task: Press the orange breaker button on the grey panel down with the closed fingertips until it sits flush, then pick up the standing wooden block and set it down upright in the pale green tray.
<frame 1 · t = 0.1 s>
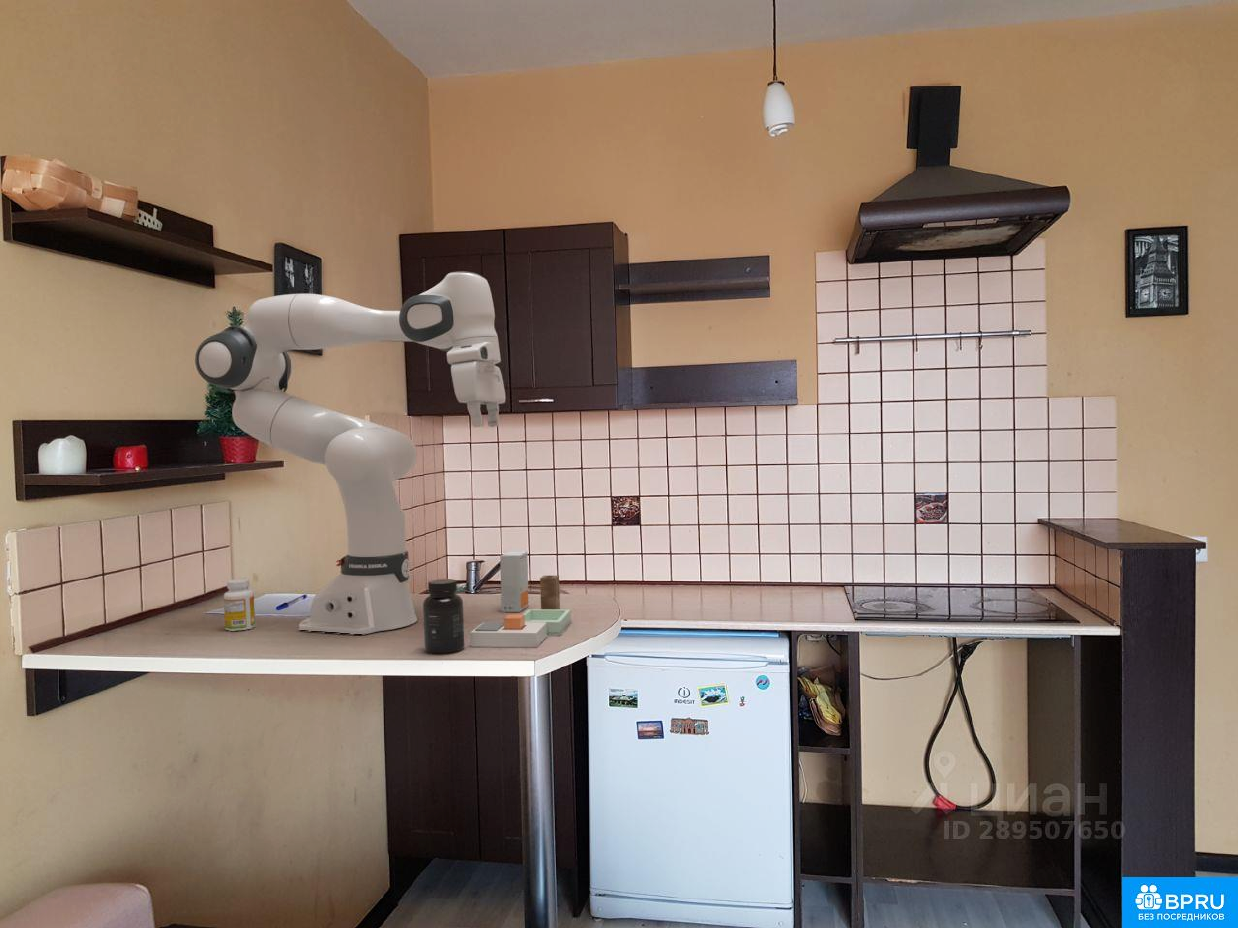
hand: (486, 426, 159), 39 cm above the countertop, tool pointing down, fingers open, 8 cm apart
wooden block: (550, 615, 168), on the countertop
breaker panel: (509, 640, 148), on the countertop
supplement bottle 2: (240, 629, 163), on the countertop
skincare box: (515, 610, 175), on the countertop
breaker button: (514, 622, 148), point 3 cm above the countertop, slide at 0.0 cm
supplement bottle: (444, 650, 144), on the countertop
bay tray: (543, 628, 157), on the countertop
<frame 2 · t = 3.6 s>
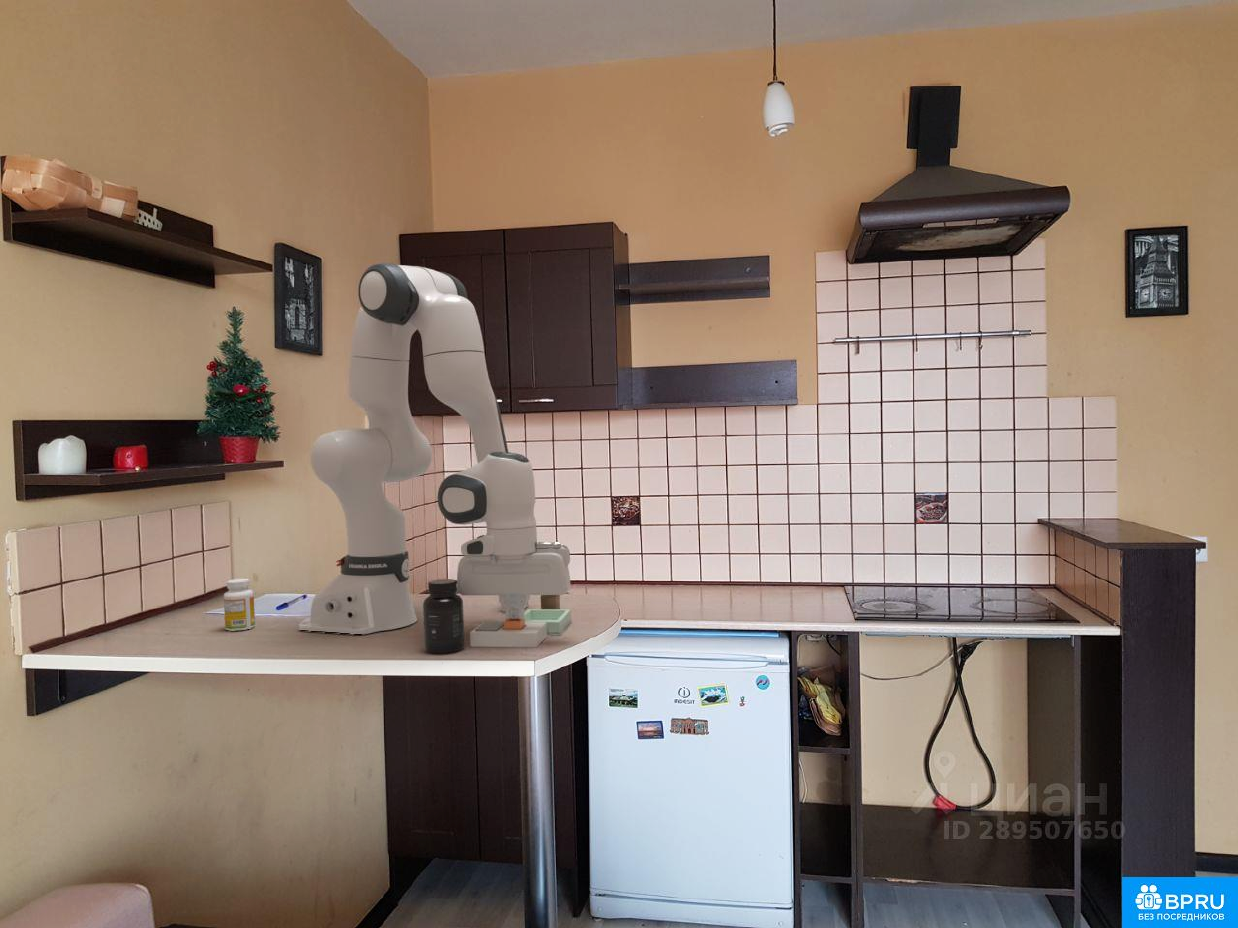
hand: (515, 619, 148), 4 cm above the countertop, tool pointing down, fingers closed, pressing on breaker button
breaker button: (514, 625, 148), point 3 cm above the countertop, slide at 0.5 cm, touching gripper
everything else where it was.
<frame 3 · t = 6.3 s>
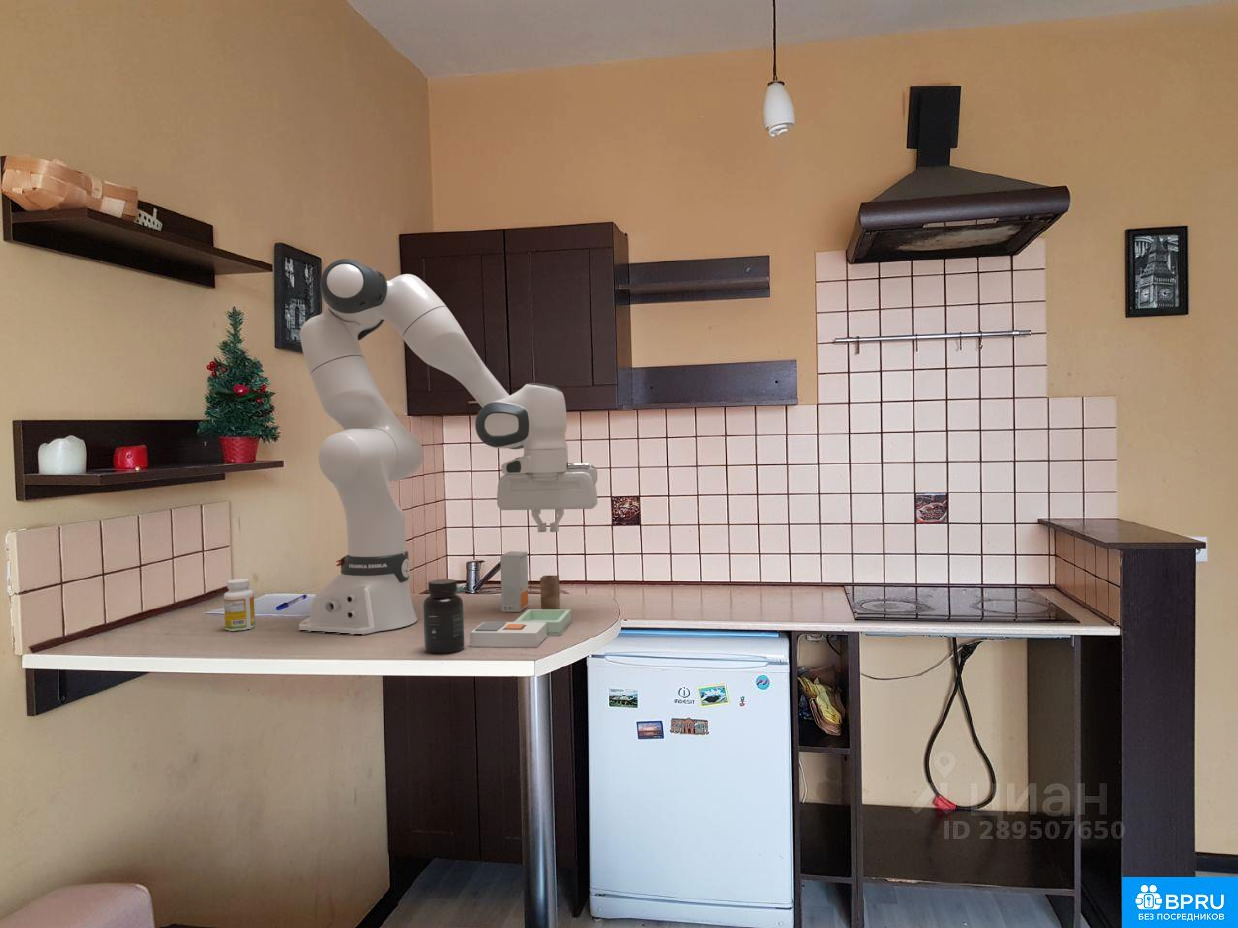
hand: (548, 531, 167), 17 cm above the countertop, tool pointing down, fingers closed
breaker button: (514, 632, 148), point 2 cm above the countertop, slide at 1.8 cm
everything else where it was.
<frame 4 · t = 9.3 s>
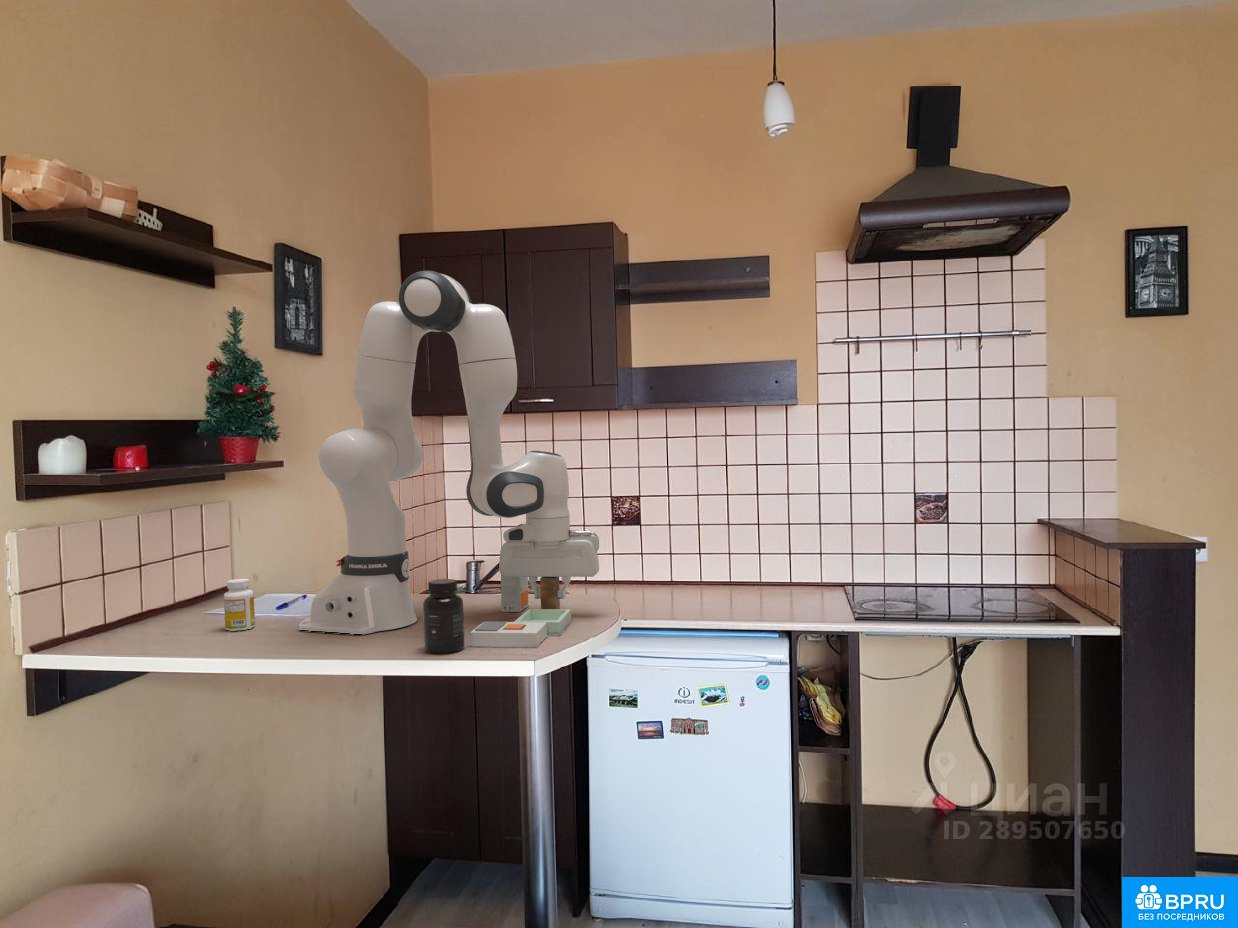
hand: (550, 598, 167), 4 cm above the countertop, tool pointing down, fingers closed on wooden block, 3 cm apart
wooden block: (550, 615, 168), on the countertop, touching gripper
everything else where it was.
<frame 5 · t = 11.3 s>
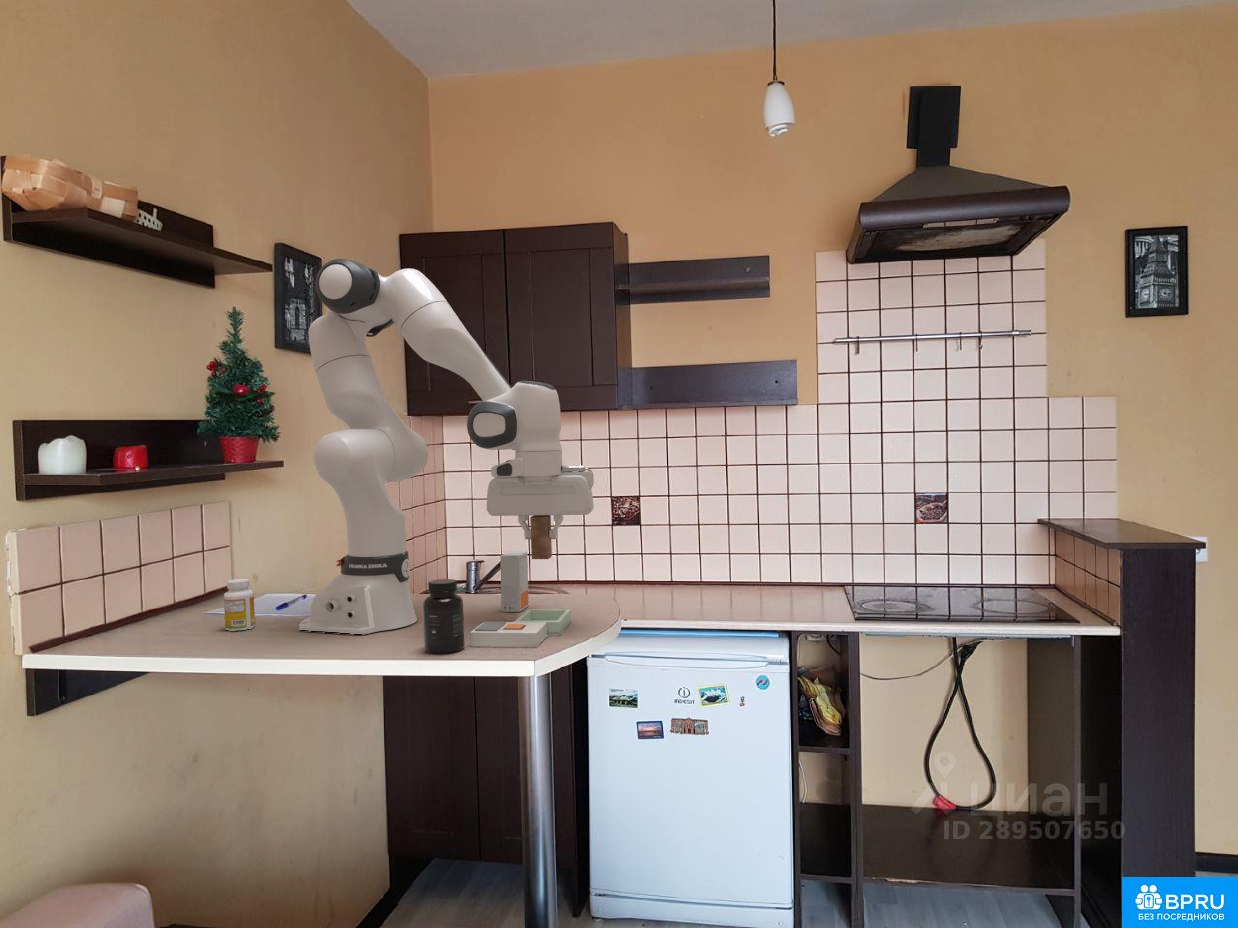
hand: (541, 538, 157), 17 cm above the countertop, tool pointing down, fingers closed on wooden block, 3 cm apart
wooden block: (541, 557, 157), point 14 cm above the countertop, touching gripper
everything else where it was.
when the fingers open (5 cm above the countertop, at t = 13.8 s): wooden block stays where it is, resting on bay tray.
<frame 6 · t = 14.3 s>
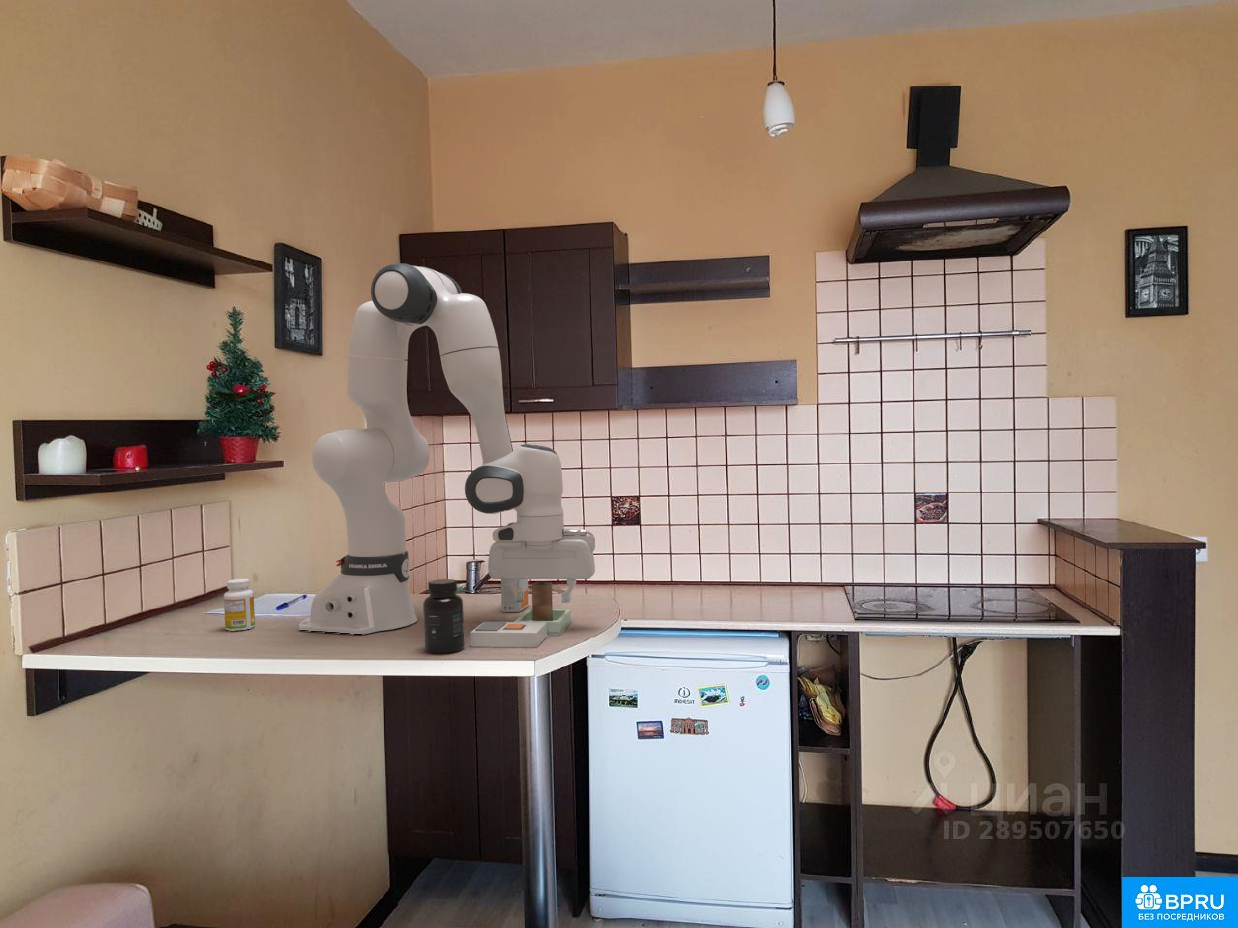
hand: (542, 601, 157), 5 cm above the countertop, tool pointing down, fingers open, 8 cm apart
wooden block: (543, 625, 157), point 1 cm above the countertop, touching bay tray
everything else where it was.
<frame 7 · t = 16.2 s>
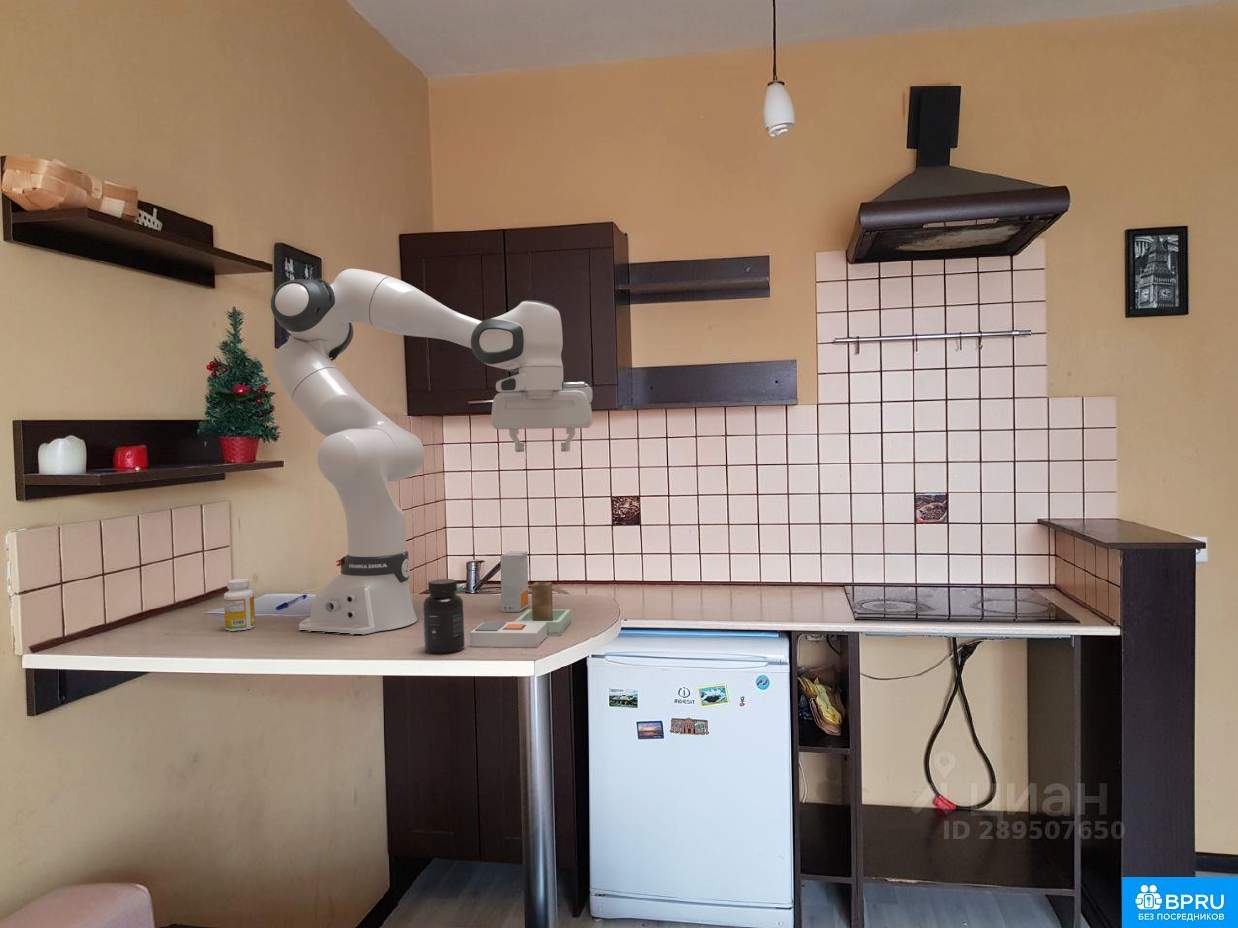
hand: (542, 451, 165), 33 cm above the countertop, tool pointing down, fingers open, 8 cm apart
nothing on the countertop moved.
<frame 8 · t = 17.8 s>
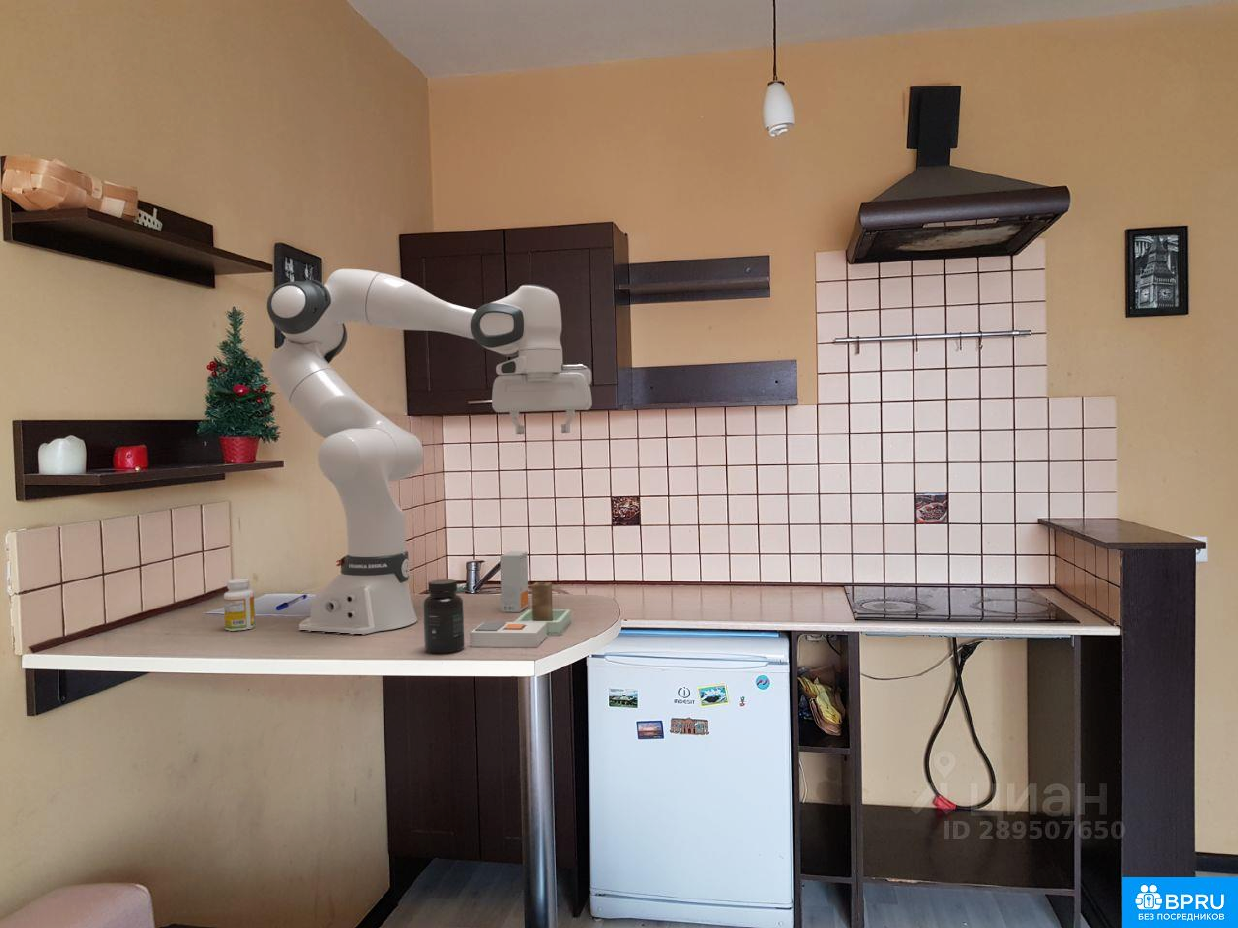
hand: (542, 433, 168), 37 cm above the countertop, tool pointing down, fingers open, 8 cm apart
nothing on the countertop moved.
at the end: breaker button slide at 1.8 cm; wooden block inside the target area on the bay tray (0.1 cm from its centre), point 0.6 cm above the bay tray's base; wooden block tilted 0° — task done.
